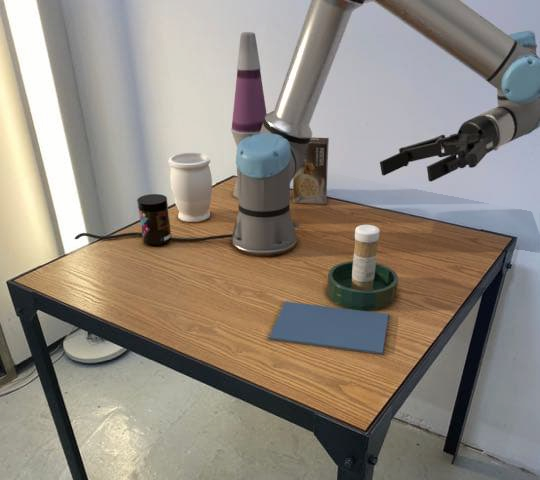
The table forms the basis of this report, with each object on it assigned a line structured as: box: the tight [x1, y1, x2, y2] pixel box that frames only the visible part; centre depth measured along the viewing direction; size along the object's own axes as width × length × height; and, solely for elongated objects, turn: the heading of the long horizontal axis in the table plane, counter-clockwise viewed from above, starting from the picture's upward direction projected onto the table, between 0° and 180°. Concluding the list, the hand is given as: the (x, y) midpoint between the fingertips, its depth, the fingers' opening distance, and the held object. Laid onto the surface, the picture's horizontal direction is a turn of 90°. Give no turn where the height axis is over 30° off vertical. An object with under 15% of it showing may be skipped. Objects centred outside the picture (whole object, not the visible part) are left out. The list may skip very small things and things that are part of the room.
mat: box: [268, 301, 390, 355], centre depth 104 cm, size 20×13×1 cm, turn 76°
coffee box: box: [292, 136, 330, 205], centre depth 153 cm, size 9×6×16 cm
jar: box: [167, 152, 213, 223], centre depth 143 cm, size 11×10×15 cm
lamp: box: [230, 31, 268, 199], centre depth 150 cm, size 11×11×40 cm
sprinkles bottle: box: [351, 224, 381, 291], centre depth 110 cm, size 5×5×13 cm
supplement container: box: [136, 193, 172, 248], centre depth 132 cm, size 7×7×10 cm
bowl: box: [326, 260, 399, 312], centre depth 113 cm, size 14×14×4 cm
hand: (404, 171), depth 109 cm, fingers open, 13 cm apart
